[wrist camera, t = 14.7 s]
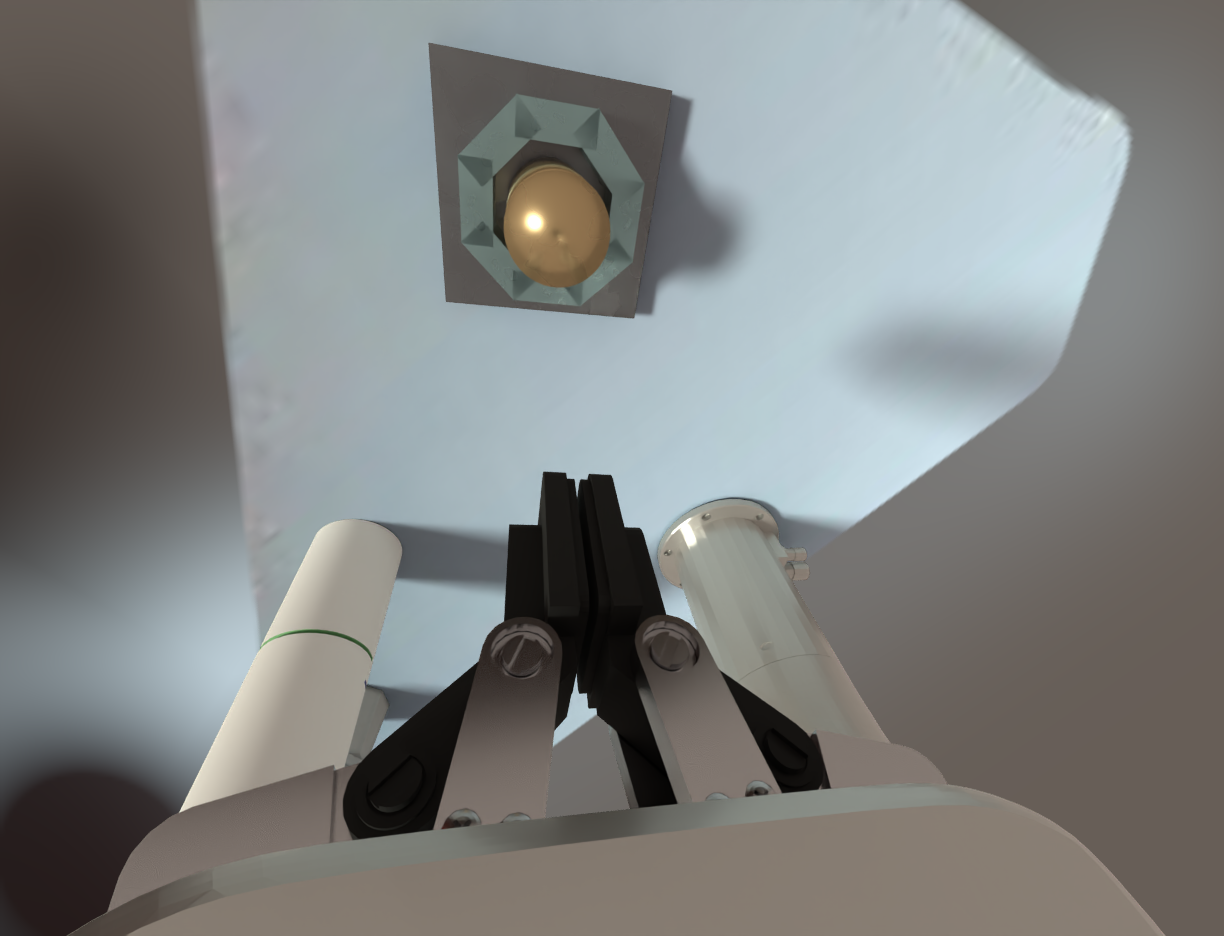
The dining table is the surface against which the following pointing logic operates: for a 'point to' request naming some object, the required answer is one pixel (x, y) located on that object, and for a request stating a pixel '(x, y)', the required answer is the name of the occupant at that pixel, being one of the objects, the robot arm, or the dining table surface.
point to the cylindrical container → (308, 666)
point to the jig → (526, 130)
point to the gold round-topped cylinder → (555, 224)
